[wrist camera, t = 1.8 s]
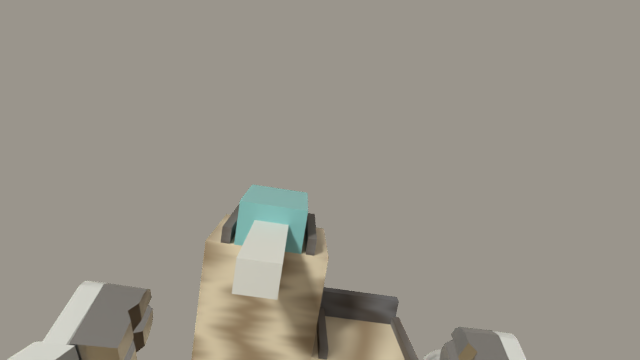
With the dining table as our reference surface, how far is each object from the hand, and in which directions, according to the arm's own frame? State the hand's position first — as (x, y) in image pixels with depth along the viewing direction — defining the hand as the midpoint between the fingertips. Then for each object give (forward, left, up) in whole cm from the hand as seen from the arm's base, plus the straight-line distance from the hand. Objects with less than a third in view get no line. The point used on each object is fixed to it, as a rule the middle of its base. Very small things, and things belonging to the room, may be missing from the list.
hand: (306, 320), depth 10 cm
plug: (+2, -23, -7) cm, 24 cm away
